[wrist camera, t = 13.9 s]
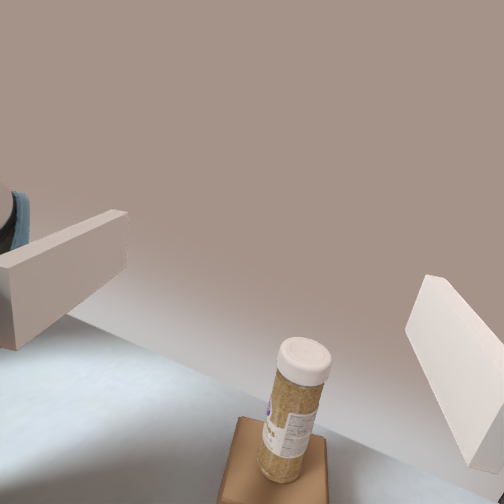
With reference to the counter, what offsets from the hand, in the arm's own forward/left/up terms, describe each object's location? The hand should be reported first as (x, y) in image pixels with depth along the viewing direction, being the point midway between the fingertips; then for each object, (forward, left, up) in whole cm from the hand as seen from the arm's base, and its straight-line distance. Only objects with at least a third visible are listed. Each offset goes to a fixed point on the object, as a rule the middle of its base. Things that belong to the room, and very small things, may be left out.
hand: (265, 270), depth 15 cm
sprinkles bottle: (+4, +12, -25) cm, 28 cm away
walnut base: (+4, +12, -29) cm, 31 cm away
